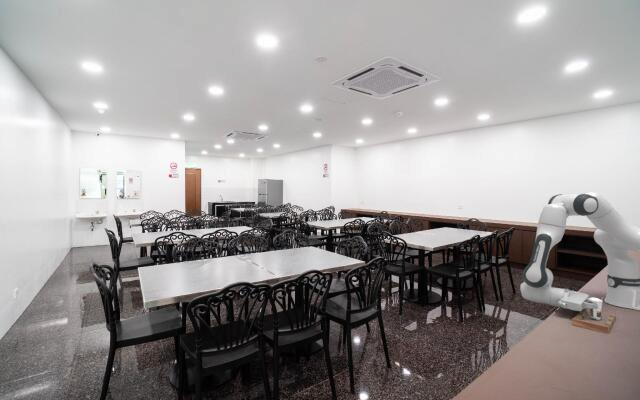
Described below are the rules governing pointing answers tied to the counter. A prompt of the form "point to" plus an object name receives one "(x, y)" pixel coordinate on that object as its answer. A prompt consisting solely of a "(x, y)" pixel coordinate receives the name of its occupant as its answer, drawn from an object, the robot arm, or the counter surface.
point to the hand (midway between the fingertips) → (599, 305)
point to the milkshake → (596, 312)
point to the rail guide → (593, 326)
